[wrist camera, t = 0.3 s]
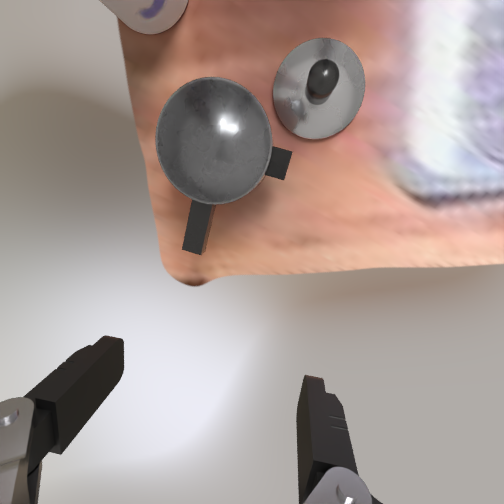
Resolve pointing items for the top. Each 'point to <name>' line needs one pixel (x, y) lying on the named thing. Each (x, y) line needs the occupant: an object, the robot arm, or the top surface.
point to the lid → (319, 88)
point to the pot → (215, 149)
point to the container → (147, 13)
